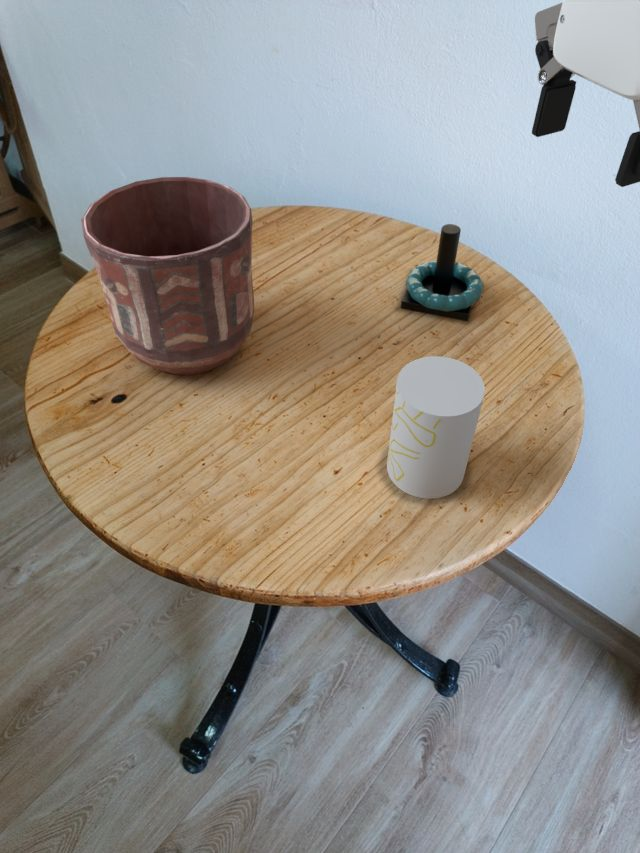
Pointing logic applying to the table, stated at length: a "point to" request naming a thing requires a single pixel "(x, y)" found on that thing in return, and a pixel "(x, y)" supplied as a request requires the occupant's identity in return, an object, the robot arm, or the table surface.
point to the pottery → (175, 270)
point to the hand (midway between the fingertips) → (587, 156)
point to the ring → (444, 301)
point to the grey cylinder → (433, 425)
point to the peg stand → (442, 277)
